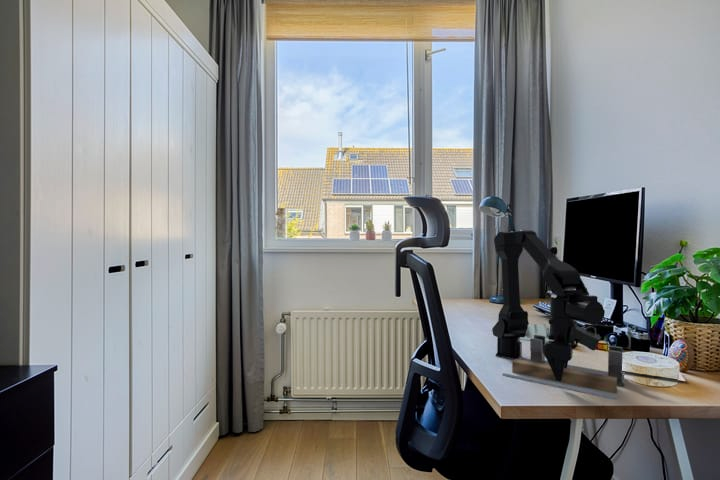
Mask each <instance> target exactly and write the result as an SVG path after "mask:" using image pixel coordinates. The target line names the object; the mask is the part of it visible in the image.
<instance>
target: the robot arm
mask: <svg viewBox="0 0 720 480" xmlns="http://www.w3.org/2000/svg"><path fill="white" fill-rule="evenodd" d="M493 238H494V239H493V243H494V248H495V252H496V254H497V256H498V257H499V259H500V261H501V275H502V276H501V278H502V279H501V281H502V298H503V299H502V301H503V304H502V307H501V309H500V310H499V312H498V321H497V322H496V323H495V324H494V325H493V327H492V329H491V331H492V335H493V336H494V337H496V338H497V344H496V345H497V347H496V351H497V352H496V353H495V356H496V357H499V358H504V359H505V358H506V359H509V360H510V359H511V360H514V359H519V358H520V357H521V356H522V355H523V352H522V351H523V348H522V347H523V343H522V341H521V340H520V337H525V334H526V331H527V328H528V324H530V321H529V313H528V311H527V310H524V308H523V306H521V294H520V275H519V274H520V272H519V259H520V256H521V255H522V253H523V251H524V250H525V252H527V253H528V255H529V256H530V257H531V258H532V259H533V260H534V262H535V263H536V264H537V265H538V267H539V268H540V269H541V271H542V273H541V274H542V275H541V276H542V277H541V278H542V279H543V280H544V282H545V284H546V285H547V288H548V289H549V290H548V291H546V292H544V296H545V297H549V298H550V302H549V303H550V307H549V311H550V312H549V314H550V315H549V319H548V325H549V327H550V334H549V336H548V339H549V341H548V342H545V344H544V346H543V354H544V356H545V360H546V361H548V363H549V365H550V367H551V369H552V372H553V374H554V376H555V379H556V380H557V381H561V379H562V375H563V371H564V368H567V365H569V361H571V360H572V358H573V353H574V352H573V351H574V350H575V349H576V348H577V347H578V345H579V344H580V345H582V346H583V347H587V348H588V349H589V350H590V351H596V349H597V347H598V345H599V343H600V340H601V338H602V337H601V336H600V334H598V333H597V328H596V327H594V326H597V325H599V324H601V322H603V320H604V317H605V313H606V311H605V309H604V306H603V304H602V303H601V302H599V301H598V296H597V295H590V293H589V291H588V288H587V287H586V286H585V283H584V282H583V280H582V278H581V274H580V272H579V271H578V270H577V269H576V268H575V267H574V266H572V265H570V264H569V263H567V262H564V261H563V260H560V259H559V258H558V257H556V255H555V254H554V253H553V252H552V251H551V249H550V248H549V247H548V246H547V245H545V243H544V242H543V241H542V240H541V239H540V238H539V236H538V235H537V232H536V231H533V230H530V229H529V230H528V229H523V230H522V229H520V230H518V231H499V232H497V234H496V235H495V236H494V237H493ZM578 322H580V323H585V324H587V325H589V326H587V327H586V328H585V327H581V326H580V325H579V326H578ZM550 340H554V341H550Z"/></svg>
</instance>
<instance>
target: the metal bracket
mask: <svg viewBox="0 0 720 480" xmlns="http://www.w3.org/2000/svg"><path fill="white" fill-rule="evenodd" d="M549 334H550V325H549V324H547V325H546V322H542V324H535V323H534V321H532V324H531V323H529V324H528V328H527V331H526V334H525V337H520V341H529V342H530V339H531V338H533V339H534V335H541V336H545V343H546V342H548V341H549V339H548V336H549ZM550 341H554V340H550Z"/></svg>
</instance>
